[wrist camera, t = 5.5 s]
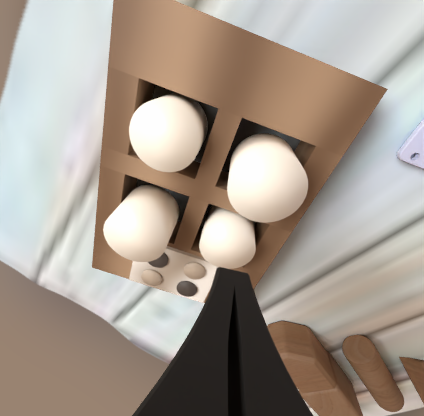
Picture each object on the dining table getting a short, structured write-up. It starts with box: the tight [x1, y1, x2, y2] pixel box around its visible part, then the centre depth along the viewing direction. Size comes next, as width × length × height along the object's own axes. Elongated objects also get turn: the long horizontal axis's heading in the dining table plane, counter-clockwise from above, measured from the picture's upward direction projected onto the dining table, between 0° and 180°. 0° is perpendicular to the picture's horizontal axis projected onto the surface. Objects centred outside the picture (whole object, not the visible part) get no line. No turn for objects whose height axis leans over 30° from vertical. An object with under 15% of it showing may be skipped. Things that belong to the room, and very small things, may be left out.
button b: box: [103, 185, 179, 262], centre depth 16 cm, size 4×4×4 cm
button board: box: [92, 0, 387, 303], centre depth 17 cm, size 14×20×4 cm
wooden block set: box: [267, 321, 424, 416], centre depth 26 cm, size 17×6×18 cm
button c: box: [227, 133, 308, 223], centre depth 13 cm, size 4×4×4 cm
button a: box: [129, 93, 208, 172], centre depth 15 cm, size 4×4×4 cm
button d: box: [199, 205, 256, 269], centre depth 18 cm, size 4×4×4 cm
